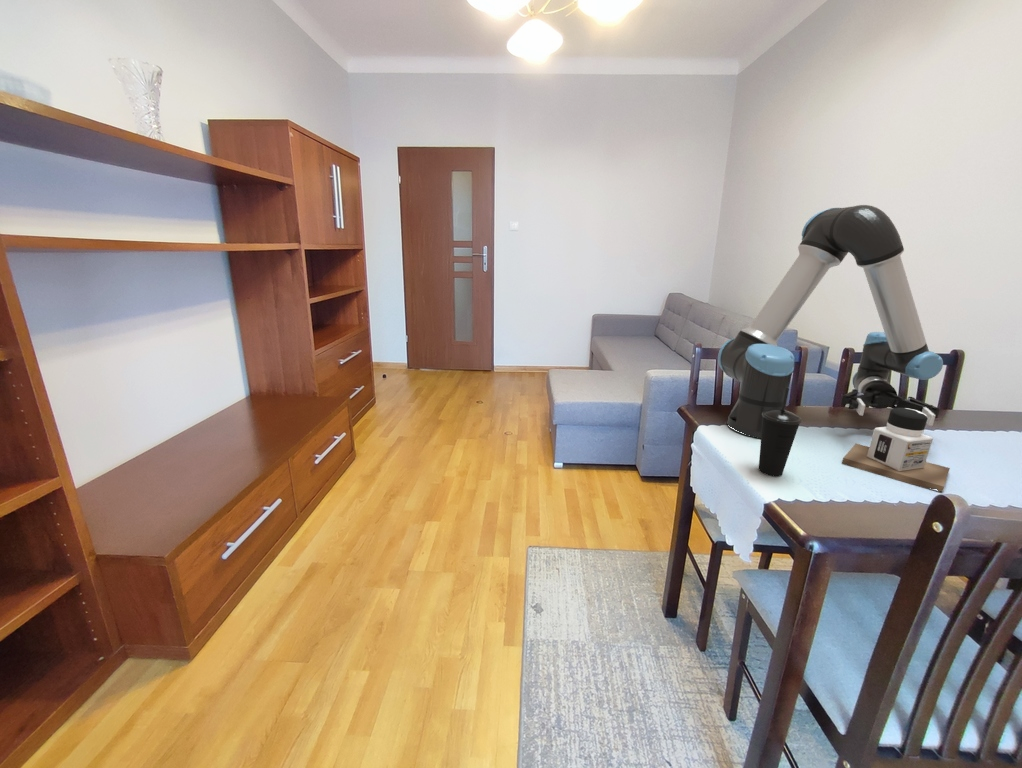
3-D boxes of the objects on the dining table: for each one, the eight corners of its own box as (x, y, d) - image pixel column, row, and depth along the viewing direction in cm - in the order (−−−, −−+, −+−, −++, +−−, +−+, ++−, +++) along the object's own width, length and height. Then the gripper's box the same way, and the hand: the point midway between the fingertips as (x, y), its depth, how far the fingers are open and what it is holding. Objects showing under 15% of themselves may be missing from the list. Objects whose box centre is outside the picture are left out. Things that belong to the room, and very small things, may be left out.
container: (899, 471, 103) (915, 417, 99) (865, 457, 110) (879, 406, 106) (924, 468, 105) (941, 415, 101) (889, 454, 112) (904, 404, 108)
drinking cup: (779, 465, 108) (797, 384, 102) (795, 480, 101) (815, 394, 95) (746, 462, 109) (761, 382, 103) (759, 478, 102) (777, 392, 96)
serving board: (841, 463, 110) (843, 457, 109) (854, 448, 118) (855, 443, 118) (941, 492, 97) (943, 486, 97) (947, 473, 106) (949, 468, 105)
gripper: (929, 412, 126) (958, 439, 108) (822, 397, 137) (832, 420, 119) (937, 386, 124) (968, 410, 106) (827, 373, 135) (838, 392, 117)
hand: (896, 415), depth 112 cm, fingers open, 13 cm apart
